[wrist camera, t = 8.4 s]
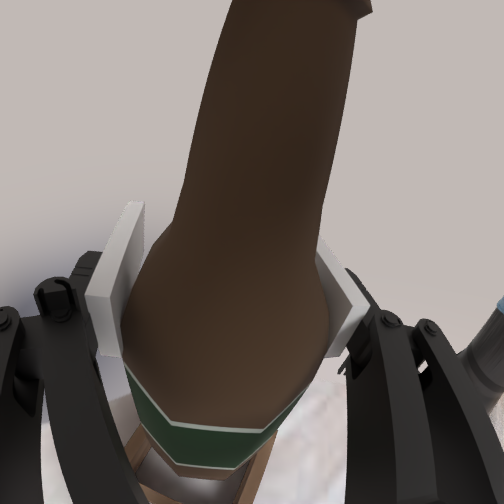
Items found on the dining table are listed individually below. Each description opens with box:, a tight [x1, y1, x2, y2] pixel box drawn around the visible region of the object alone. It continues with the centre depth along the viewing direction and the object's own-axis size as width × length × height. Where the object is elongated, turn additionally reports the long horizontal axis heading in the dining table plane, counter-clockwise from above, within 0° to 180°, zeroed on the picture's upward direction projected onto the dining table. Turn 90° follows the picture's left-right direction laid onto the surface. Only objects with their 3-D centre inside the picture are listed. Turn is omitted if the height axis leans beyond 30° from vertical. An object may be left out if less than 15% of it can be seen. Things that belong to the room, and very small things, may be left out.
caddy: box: [124, 424, 278, 504], centre depth 20 cm, size 12×12×4 cm
